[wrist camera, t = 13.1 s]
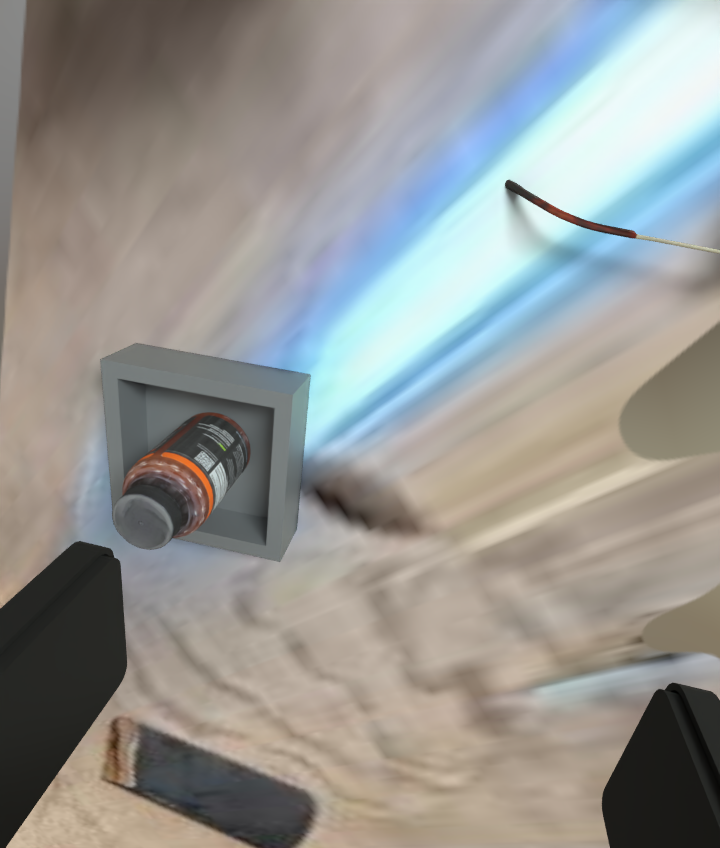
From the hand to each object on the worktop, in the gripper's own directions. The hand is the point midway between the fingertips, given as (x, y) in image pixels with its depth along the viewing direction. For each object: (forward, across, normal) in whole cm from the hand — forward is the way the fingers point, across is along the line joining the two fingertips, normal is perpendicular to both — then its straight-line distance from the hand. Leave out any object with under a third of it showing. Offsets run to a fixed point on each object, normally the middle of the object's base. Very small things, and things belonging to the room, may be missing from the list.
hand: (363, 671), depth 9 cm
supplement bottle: (+29, +15, +13) cm, 35 cm away
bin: (+30, +16, +13) cm, 36 cm away
